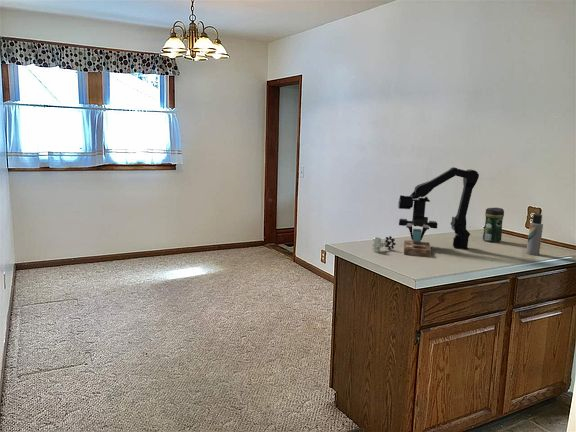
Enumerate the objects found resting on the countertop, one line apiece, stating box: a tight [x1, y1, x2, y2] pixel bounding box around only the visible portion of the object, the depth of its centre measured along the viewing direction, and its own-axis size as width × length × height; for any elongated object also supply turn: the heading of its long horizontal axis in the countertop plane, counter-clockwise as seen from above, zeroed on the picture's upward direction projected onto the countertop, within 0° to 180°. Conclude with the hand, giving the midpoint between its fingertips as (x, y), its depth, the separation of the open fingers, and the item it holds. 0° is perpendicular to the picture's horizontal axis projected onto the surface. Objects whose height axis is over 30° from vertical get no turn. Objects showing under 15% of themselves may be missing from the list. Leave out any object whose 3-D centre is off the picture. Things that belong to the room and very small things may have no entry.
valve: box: [371, 235, 397, 253], centre depth 229 cm, size 7×7×12 cm
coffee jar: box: [482, 207, 505, 243], centre depth 262 cm, size 10×8×19 cm
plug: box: [411, 228, 422, 242], centre depth 245 cm, size 4×4×8 cm
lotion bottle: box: [526, 213, 544, 256], centre depth 235 cm, size 6×6×20 cm
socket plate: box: [403, 239, 432, 258], centre depth 231 cm, size 12×18×3 cm, turn 166°
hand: (416, 240), depth 245 cm, fingers closed on plug, 4 cm apart
